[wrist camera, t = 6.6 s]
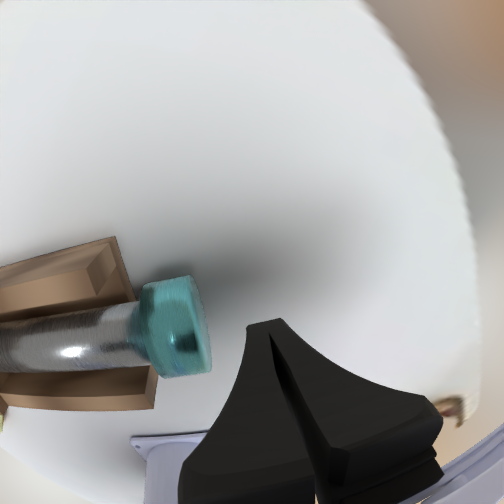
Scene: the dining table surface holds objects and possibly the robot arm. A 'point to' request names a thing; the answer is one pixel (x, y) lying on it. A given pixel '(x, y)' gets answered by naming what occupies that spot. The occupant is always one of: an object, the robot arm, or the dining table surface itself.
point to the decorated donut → (1, 422)
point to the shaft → (116, 335)
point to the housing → (64, 301)
